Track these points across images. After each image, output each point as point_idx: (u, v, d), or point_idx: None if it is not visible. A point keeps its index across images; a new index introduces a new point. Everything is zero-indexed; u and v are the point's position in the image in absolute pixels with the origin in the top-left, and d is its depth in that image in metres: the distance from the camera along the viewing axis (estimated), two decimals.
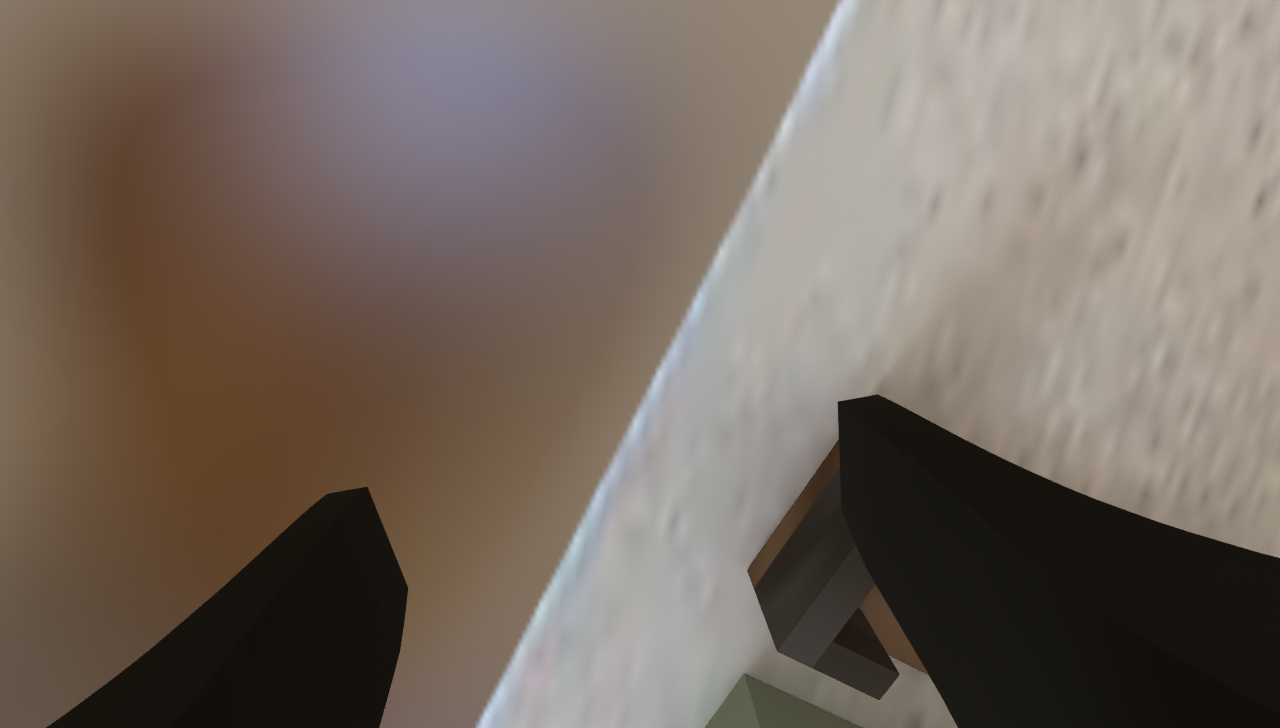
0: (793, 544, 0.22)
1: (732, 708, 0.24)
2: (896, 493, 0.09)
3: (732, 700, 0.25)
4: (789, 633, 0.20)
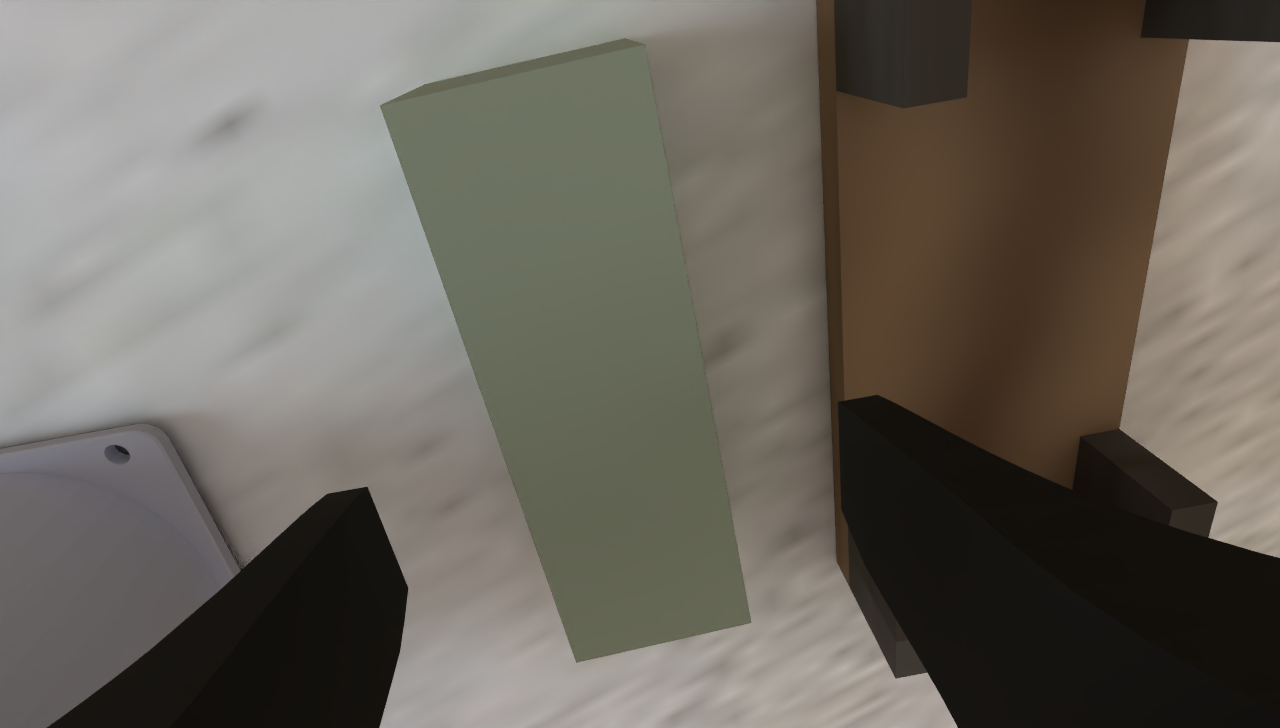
0: None
1: (575, 51, 0.13)
2: (896, 493, 0.09)
3: (580, 49, 0.13)
4: None
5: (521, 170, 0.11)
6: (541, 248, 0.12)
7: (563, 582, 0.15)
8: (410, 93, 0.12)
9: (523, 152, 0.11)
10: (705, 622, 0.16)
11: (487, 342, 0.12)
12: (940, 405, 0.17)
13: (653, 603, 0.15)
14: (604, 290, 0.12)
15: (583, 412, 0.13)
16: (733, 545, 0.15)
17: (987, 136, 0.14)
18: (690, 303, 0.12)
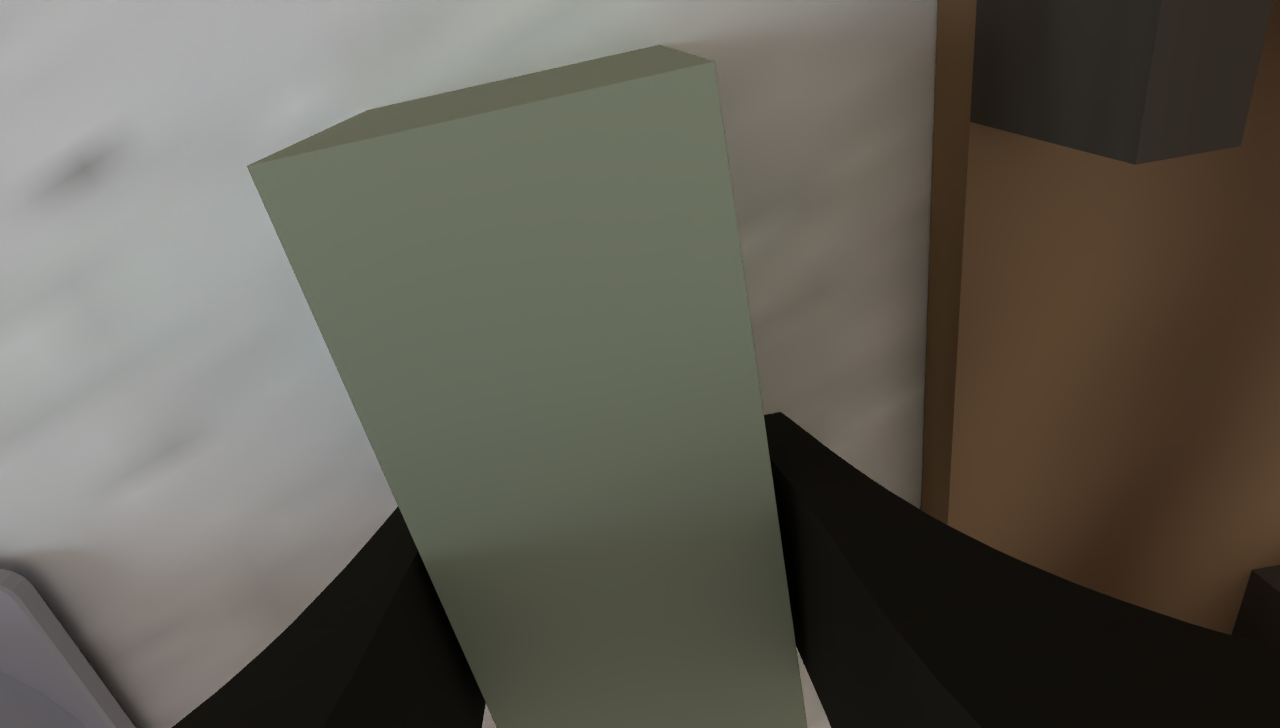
0: None
1: (589, 65, 0.09)
2: (782, 514, 0.09)
3: (594, 62, 0.09)
4: None
5: (498, 270, 0.07)
6: (532, 391, 0.07)
7: None
8: (321, 135, 0.07)
9: (501, 242, 0.06)
10: None
11: (446, 527, 0.08)
12: (1074, 536, 0.13)
13: None
14: (631, 452, 0.08)
15: (596, 619, 0.09)
16: None
17: (1179, 185, 0.10)
18: (767, 466, 0.08)
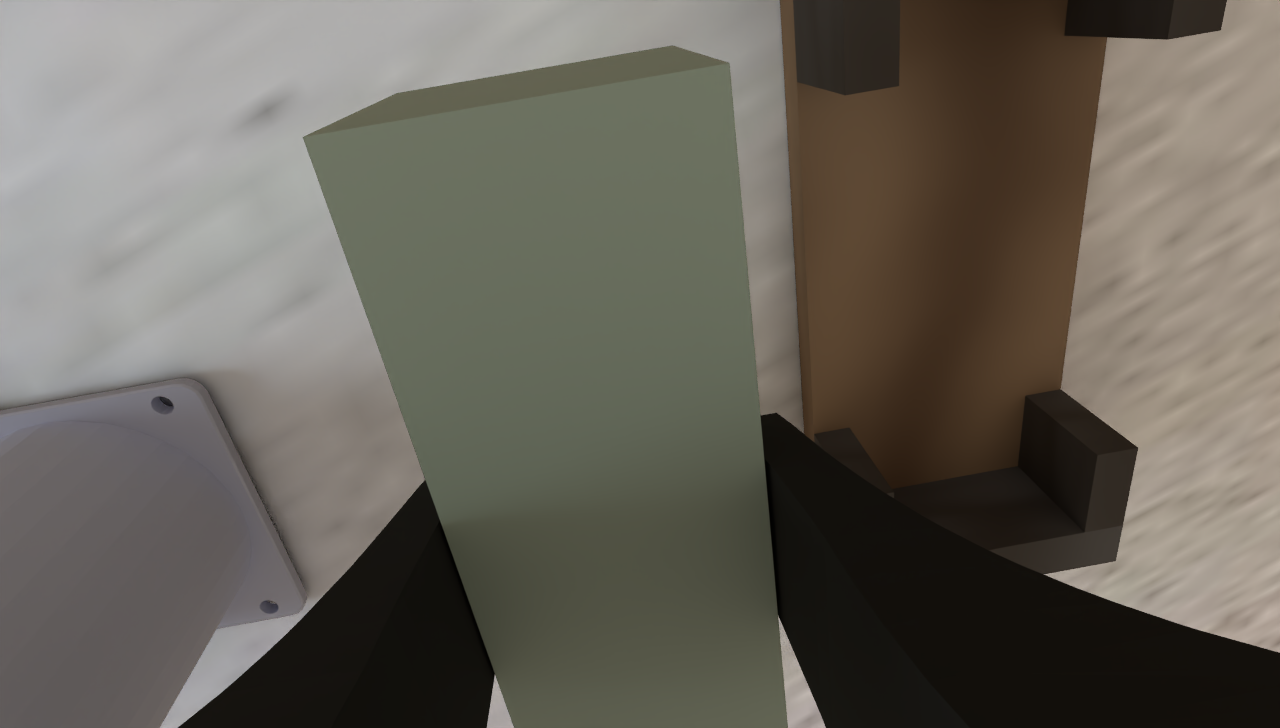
0: None
1: (607, 61, 0.09)
2: (776, 514, 0.09)
3: (613, 59, 0.10)
4: None
5: (524, 243, 0.07)
6: (547, 357, 0.08)
7: None
8: (362, 113, 0.08)
9: (528, 218, 0.07)
10: None
11: (461, 481, 0.08)
12: (897, 365, 0.19)
13: None
14: (635, 417, 0.08)
15: (595, 574, 0.09)
16: None
17: (931, 122, 0.16)
18: (759, 437, 0.08)
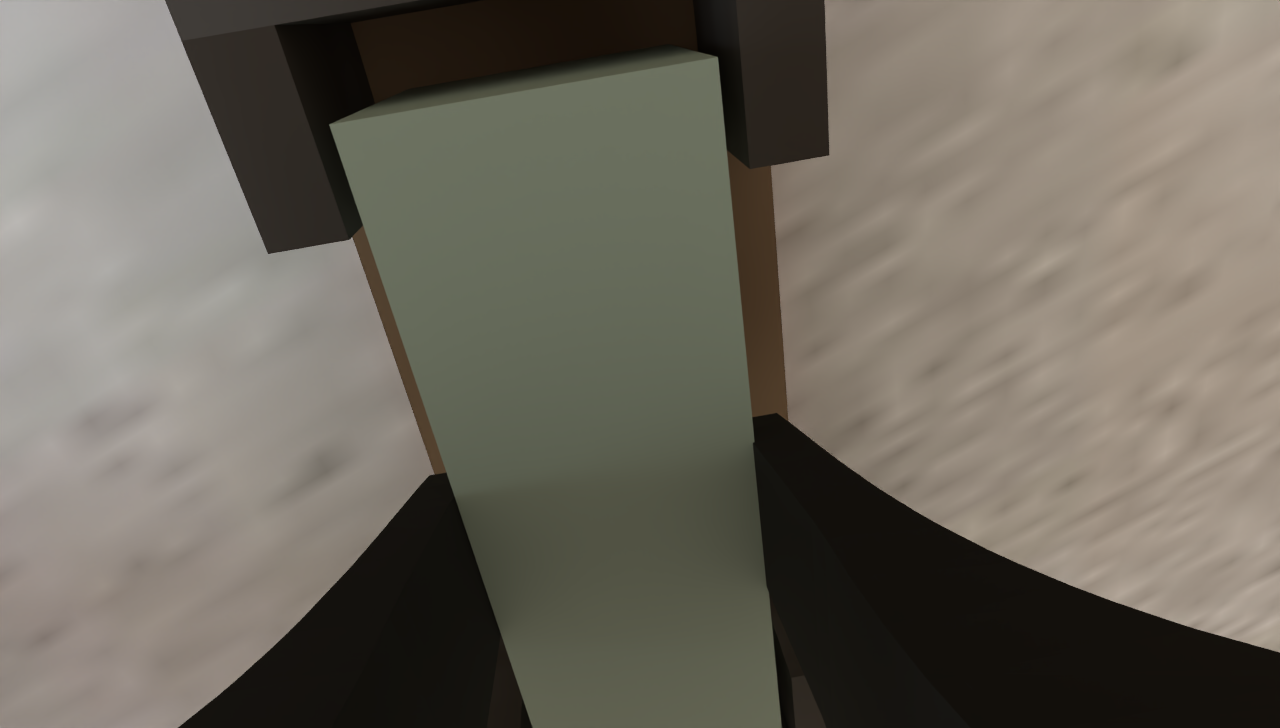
0: None
1: (607, 58, 0.10)
2: (777, 514, 0.09)
3: (612, 56, 0.10)
4: None
5: (530, 224, 0.08)
6: (551, 330, 0.08)
7: None
8: (380, 105, 0.08)
9: (534, 199, 0.08)
10: None
11: (470, 448, 0.09)
12: None
13: None
14: (633, 388, 0.09)
15: (595, 538, 0.10)
16: (774, 697, 0.12)
17: None
18: (748, 406, 0.09)
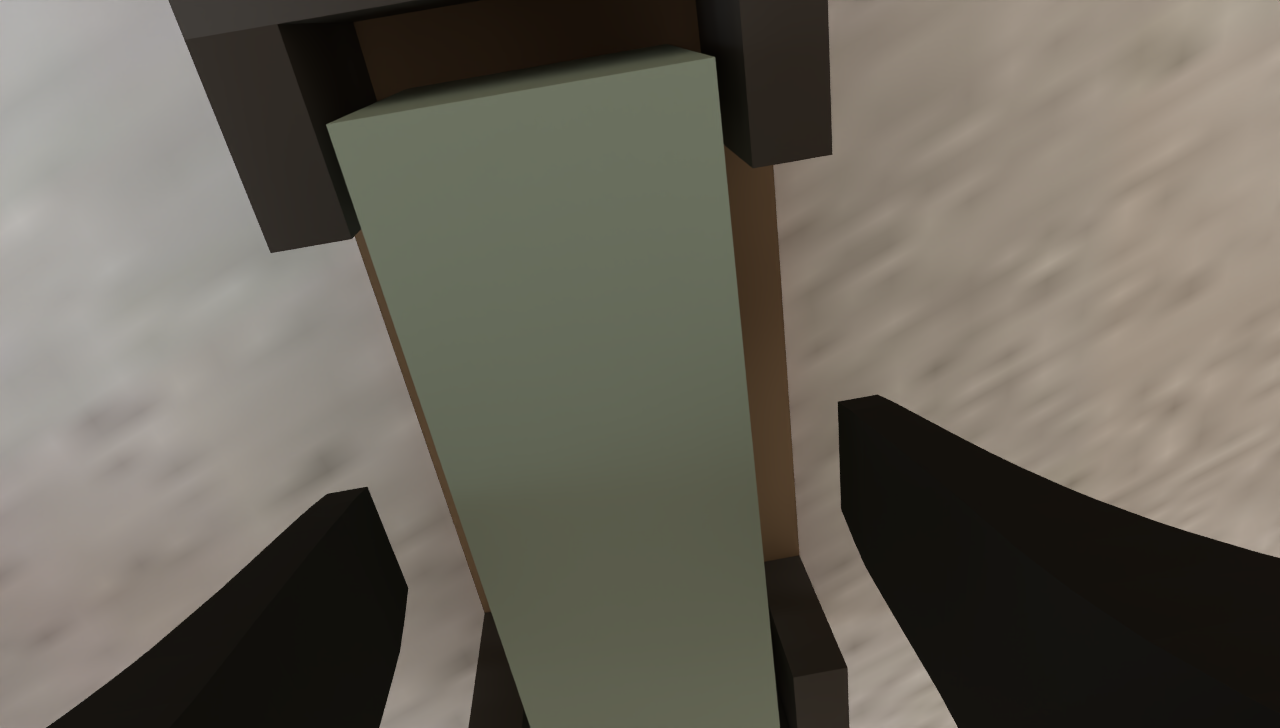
0: None
1: (605, 58, 0.10)
2: (896, 493, 0.09)
3: (610, 55, 0.10)
4: None
5: (528, 223, 0.08)
6: (549, 330, 0.08)
7: None
8: (377, 105, 0.08)
9: (531, 199, 0.08)
10: None
11: (468, 448, 0.09)
12: None
13: None
14: (631, 388, 0.09)
15: (592, 539, 0.10)
16: (772, 697, 0.12)
17: None
18: (746, 407, 0.09)
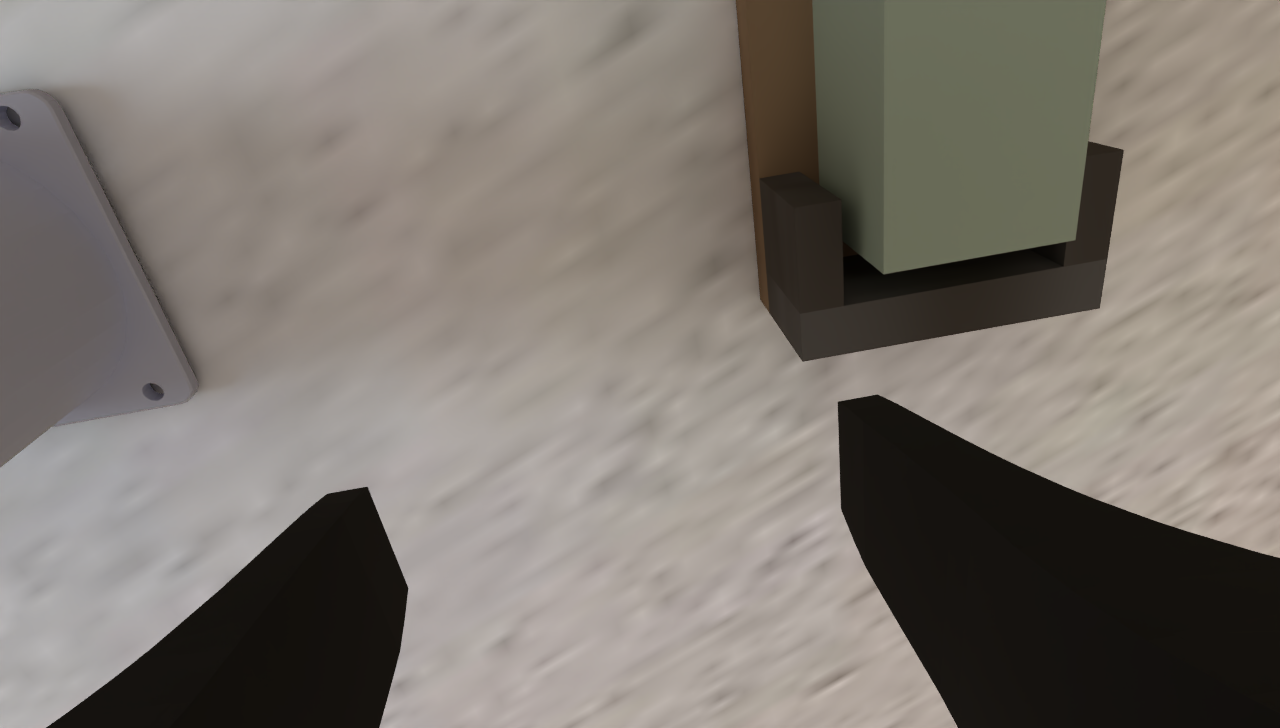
0: None
1: None
2: (895, 493, 0.09)
3: None
4: None
5: None
6: None
7: (900, 154, 0.13)
8: None
9: None
10: (1029, 233, 0.14)
11: None
12: None
13: (983, 198, 0.14)
14: None
15: None
16: (1087, 123, 0.13)
17: None
18: None
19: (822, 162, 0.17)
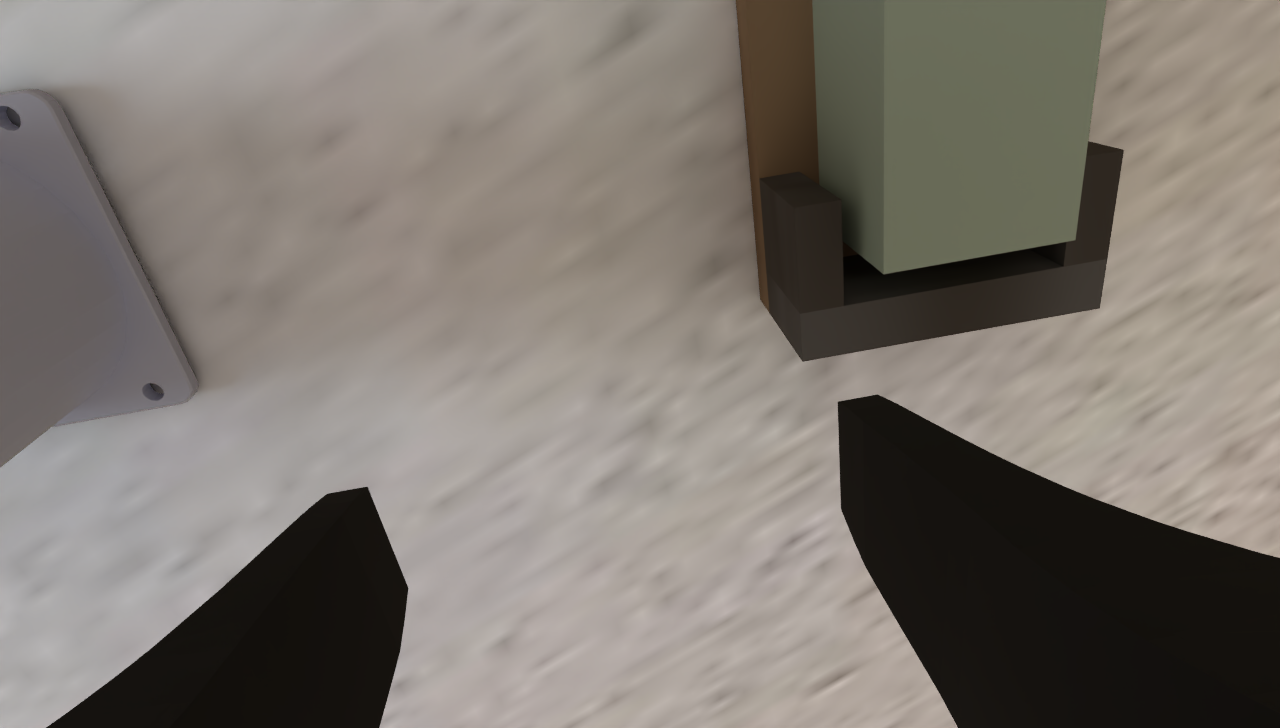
0: None
1: None
2: (895, 493, 0.09)
3: None
4: None
5: None
6: None
7: (900, 154, 0.13)
8: None
9: None
10: (1029, 233, 0.14)
11: None
12: None
13: (983, 198, 0.14)
14: None
15: None
16: (1087, 123, 0.13)
17: None
18: None
19: (822, 162, 0.17)
